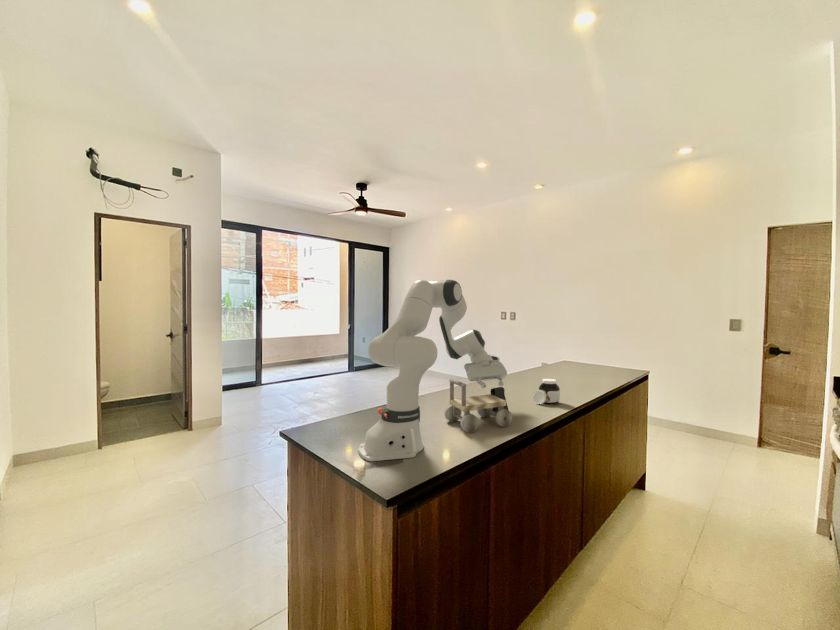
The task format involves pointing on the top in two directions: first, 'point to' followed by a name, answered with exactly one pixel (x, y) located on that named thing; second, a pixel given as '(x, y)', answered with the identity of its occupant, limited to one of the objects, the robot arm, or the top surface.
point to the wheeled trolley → (478, 403)
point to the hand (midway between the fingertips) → (493, 386)
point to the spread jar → (547, 392)
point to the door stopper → (500, 394)
